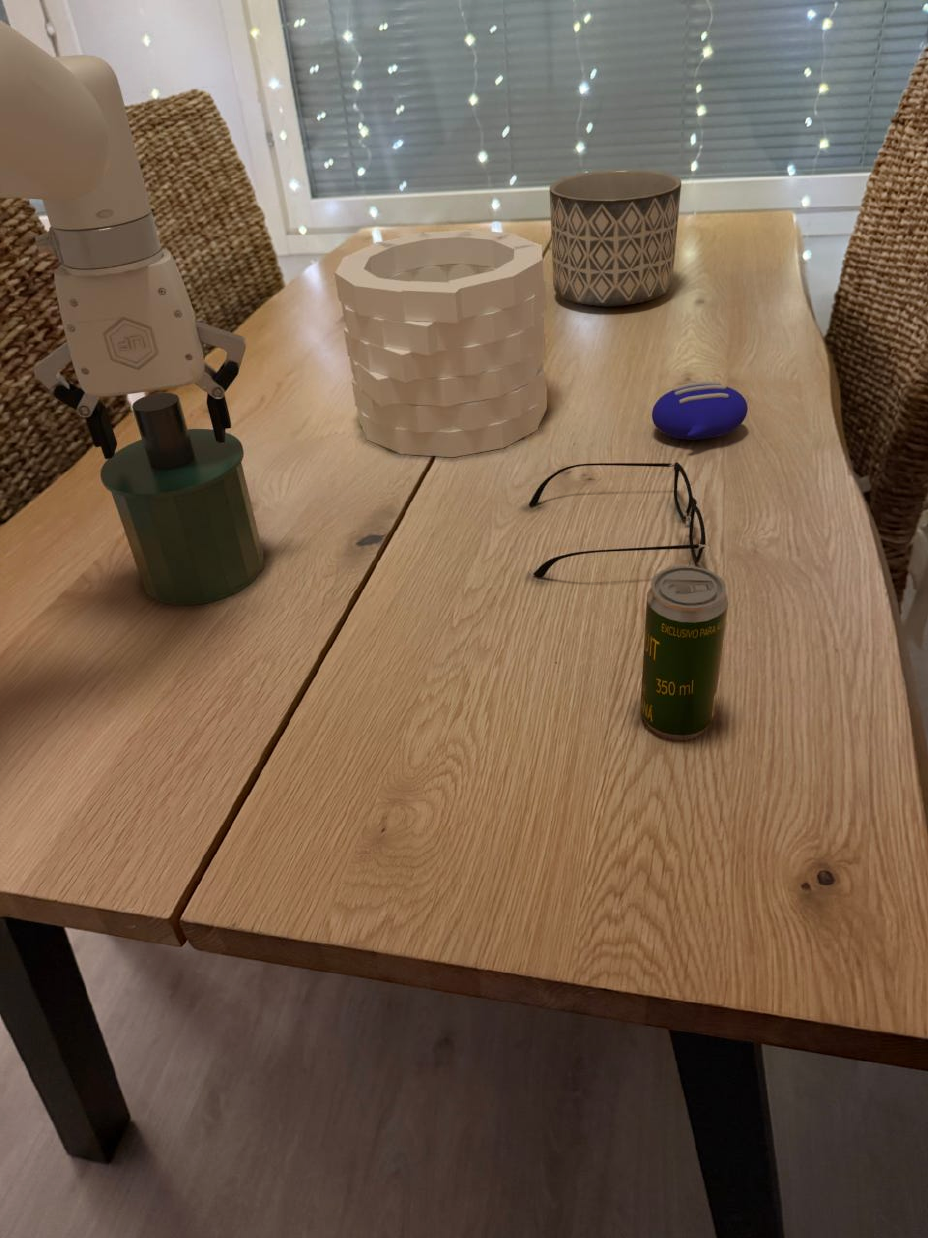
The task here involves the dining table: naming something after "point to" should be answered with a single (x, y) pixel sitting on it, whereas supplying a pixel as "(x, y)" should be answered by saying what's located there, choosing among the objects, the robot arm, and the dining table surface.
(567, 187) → the planter
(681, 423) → the decorative object
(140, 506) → the canister
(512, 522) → the dining table surface
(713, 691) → the green soda can
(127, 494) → the lid
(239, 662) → the dining table surface
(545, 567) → the eyeglasses
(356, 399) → the basket
